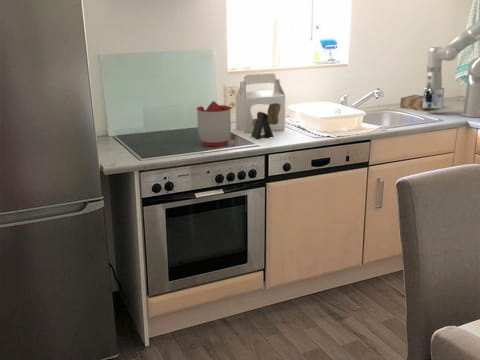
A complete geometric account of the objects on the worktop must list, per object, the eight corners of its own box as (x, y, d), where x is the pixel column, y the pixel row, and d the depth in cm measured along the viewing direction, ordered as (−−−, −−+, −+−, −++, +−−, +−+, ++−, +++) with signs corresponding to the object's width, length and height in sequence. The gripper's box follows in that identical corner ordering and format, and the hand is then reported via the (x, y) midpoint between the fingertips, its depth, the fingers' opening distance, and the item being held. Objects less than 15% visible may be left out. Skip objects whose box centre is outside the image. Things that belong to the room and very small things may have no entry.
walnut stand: (437, 107, 337) (438, 97, 335) (424, 111, 326) (425, 100, 324) (413, 104, 348) (414, 94, 346) (400, 107, 337) (400, 97, 335)
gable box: (274, 124, 296) (274, 71, 287) (285, 129, 284) (286, 74, 275) (235, 128, 288) (234, 74, 279) (245, 133, 276) (244, 77, 268)
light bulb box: (422, 108, 316) (423, 89, 313) (423, 106, 322) (424, 87, 319) (442, 108, 312) (443, 89, 309) (443, 106, 318) (444, 87, 315)
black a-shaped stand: (268, 134, 273) (268, 110, 270) (273, 137, 268) (273, 112, 264) (251, 136, 270) (251, 112, 266) (256, 139, 265) (256, 114, 261)
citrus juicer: (220, 138, 268) (219, 96, 262) (237, 145, 254) (237, 102, 247) (190, 142, 261) (189, 99, 255) (206, 150, 247) (205, 105, 240)
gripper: (432, 71, 303) (431, 103, 308) (448, 68, 314) (446, 99, 319) (420, 71, 308) (418, 102, 313) (435, 67, 319) (433, 97, 324)
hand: (432, 100), depth 316 cm, fingers closed on light bulb box, 8 cm apart
